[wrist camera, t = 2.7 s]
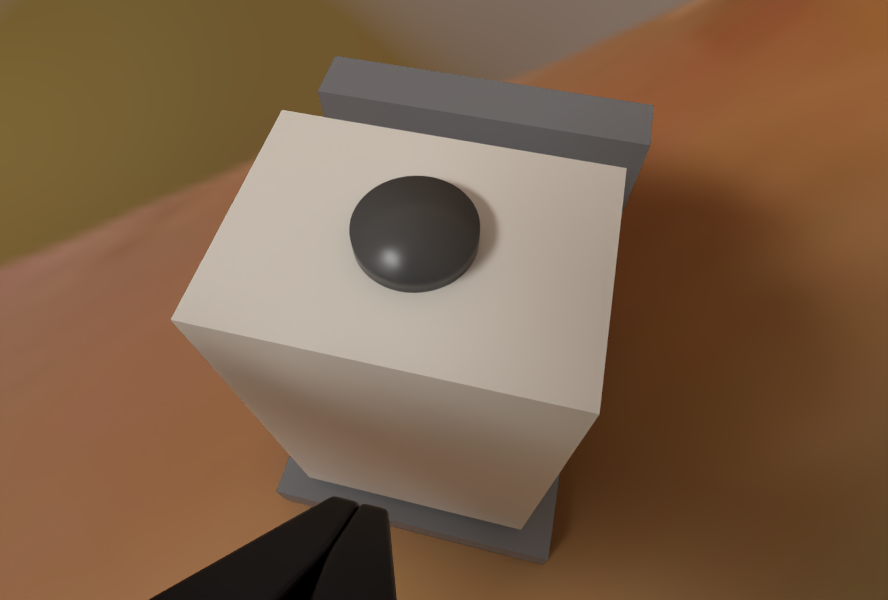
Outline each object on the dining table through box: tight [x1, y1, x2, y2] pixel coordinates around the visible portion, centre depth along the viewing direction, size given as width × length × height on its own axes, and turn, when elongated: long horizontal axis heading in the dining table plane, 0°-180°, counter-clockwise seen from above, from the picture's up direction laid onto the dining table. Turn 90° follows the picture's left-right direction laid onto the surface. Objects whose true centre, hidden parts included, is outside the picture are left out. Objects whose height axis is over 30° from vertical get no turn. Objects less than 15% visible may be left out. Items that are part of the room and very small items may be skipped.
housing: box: [276, 56, 654, 565], centre depth 14 cm, size 8×7×8 cm
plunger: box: [171, 110, 627, 530], centre depth 12 cm, size 4×6×9 cm
